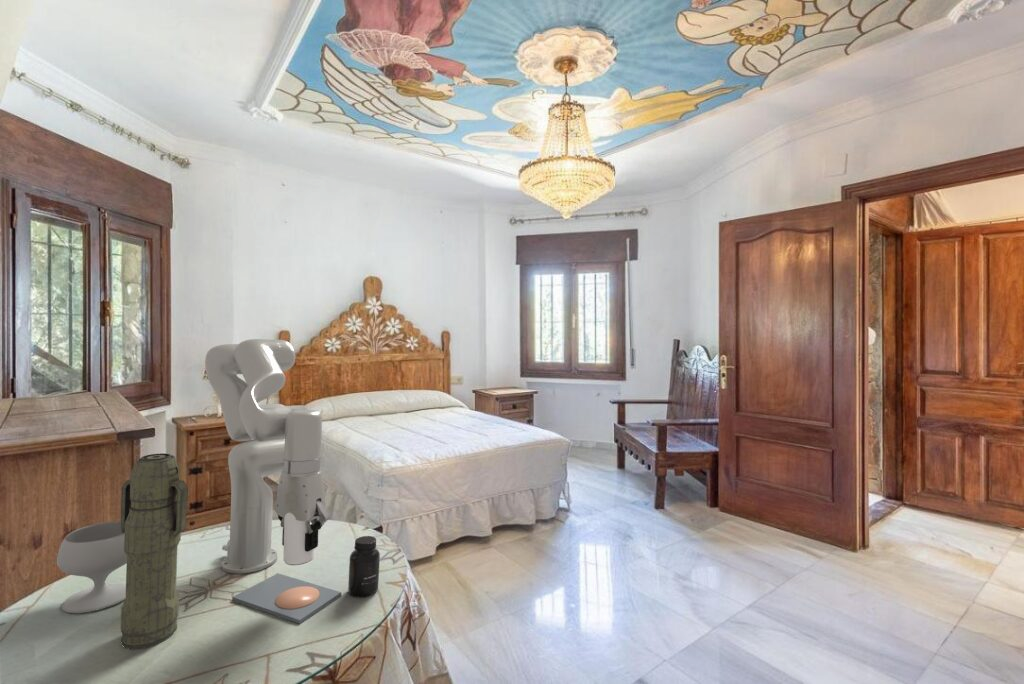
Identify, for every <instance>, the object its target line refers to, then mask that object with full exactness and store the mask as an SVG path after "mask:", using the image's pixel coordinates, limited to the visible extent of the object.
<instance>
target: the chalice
mask: <svg viewBox="0 0 1024 684" xmlns="http://www.w3.org/2000/svg"><path fill="white" fill-rule="evenodd" d="M124 536H125V533H122V531H121V520H115V521H106V522H100V523H95V524H90V525H87V526H83V527H80V528H78V529H75V530H73V531H71V532H70V533H67V535H66V536H65V537H64V539H63V541H62V542H61V544H60V546H59V548H58V552H57V557H56V565H57V566H58V568H59V570H60V571H62V573H65V574H66V575H72V576H74V577H75V576H76V577H84V578H88V579H90V580H92V582H93V585H94V586H92V588H91V587H88V588H89V589H88V588H86V590H85V589H83V590H80V591H78V592H76V593H74V594H72V595H70V597H68V598H66V599H65V600H64V601H65V602H64V601H63V603H61V606H60V608H61V610H62V611H63V612H66V613H69V614H84V613H91V612H96V611H100V610H103V609H106V607H107V608H110V607H112V606H114V605H117V604H119V603H121V602H123V601H125V597H126V582H110V583H106V581H107V578H108V577H109V575H111V574H112V573H113V572H115V571H116V570H118V569H119V568H121V567H124V566H125V565H127V555H126V553H125V551H124ZM95 610H96V611H95ZM83 612H84V613H83Z"/></svg>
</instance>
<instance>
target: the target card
mask: <svg viewBox="0 0 1024 684" xmlns="http://www.w3.org/2000/svg"><path fill="white" fill-rule="evenodd" d="M340 597H342V592H341V591H339V590H336V589H335V590H334V589H331V588H329V587H324V586H321V585H319V584H315V583H311V582H308V581H306V580H301V579H299V578H296V577H292V576H288V575H286V574H282V573H278V572H277V573H275V574H273V575H271V576H269V577H268V578H266V579H264V580H262V581H261V582H258V583H256V584H254V585H253V586H251V587H249V588H247V589H244V590H243V591H241V592H239V593H237V594H235V595H233V596H232V598H231V601H232V602H235V603H238V604H241V605H244V606H247V607H250V608H253V609H255V610H258V611H261V612H264V613H267V614H270V615H272V616H276V617H279V618H281V619H284V620H288V621H290V622H293V623H296V624H299V625H301V624H302V623H304V622H305V621H306V620H309V619H310V617H313V615H316V614H317V613H318V612H320V611H321V610H323V609H324V608H325V607H326V608H327V606H328V605H330V604H332V603H333V602H334V601H336V600H337V599H339V598H340Z"/></svg>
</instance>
